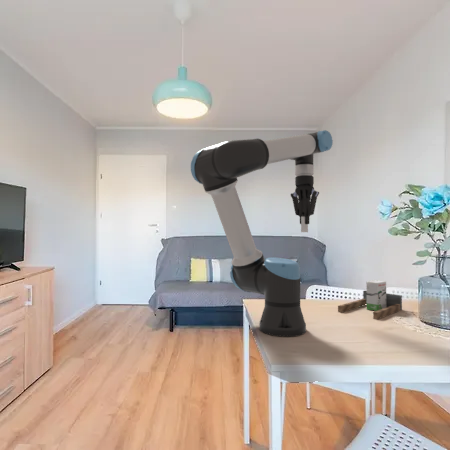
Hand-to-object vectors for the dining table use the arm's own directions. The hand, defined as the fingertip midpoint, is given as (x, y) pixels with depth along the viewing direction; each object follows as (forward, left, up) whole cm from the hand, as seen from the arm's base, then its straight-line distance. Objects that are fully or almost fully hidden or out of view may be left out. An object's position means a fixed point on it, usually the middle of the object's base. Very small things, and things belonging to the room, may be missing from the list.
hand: (304, 232), depth 141 cm
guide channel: (+18, -19, -32) cm, 42 cm away
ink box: (+24, -19, -33) cm, 45 cm away
